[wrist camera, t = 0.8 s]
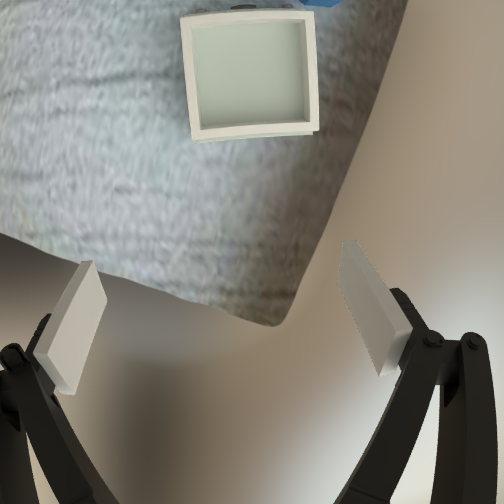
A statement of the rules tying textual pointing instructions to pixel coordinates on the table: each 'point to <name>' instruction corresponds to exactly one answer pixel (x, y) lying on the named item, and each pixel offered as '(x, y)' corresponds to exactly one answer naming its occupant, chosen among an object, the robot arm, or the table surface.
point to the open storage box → (250, 72)
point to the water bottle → (320, 2)
